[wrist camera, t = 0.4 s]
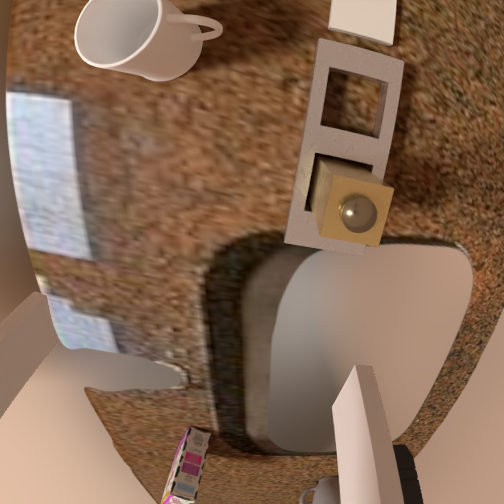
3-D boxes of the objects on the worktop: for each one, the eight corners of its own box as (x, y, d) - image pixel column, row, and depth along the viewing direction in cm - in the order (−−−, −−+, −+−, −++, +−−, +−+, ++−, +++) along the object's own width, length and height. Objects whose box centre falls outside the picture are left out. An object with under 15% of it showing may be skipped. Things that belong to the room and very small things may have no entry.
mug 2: (348, 471, 60) (350, 504, 51) (344, 483, 63) (346, 513, 55) (299, 476, 61) (299, 508, 53) (300, 487, 65) (299, 517, 56)
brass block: (317, 156, 32) (335, 176, 21) (361, 165, 32) (397, 190, 21) (308, 199, 34) (321, 240, 24) (351, 208, 34) (380, 251, 23)
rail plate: (316, 43, 27) (319, 38, 25) (396, 64, 27) (404, 61, 24) (284, 234, 36) (284, 242, 34) (357, 247, 36) (362, 256, 34)
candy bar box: (188, 424, 54) (169, 493, 39) (212, 432, 55) (197, 502, 40) (176, 445, 59) (159, 505, 44) (197, 452, 59) (183, 513, 44)
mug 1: (238, 15, 26) (218, -29, 15) (225, 86, 30) (196, 71, 19) (139, 15, 26) (83, -15, 15) (126, 80, 30) (64, 73, 19)
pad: (334, -21, 23) (335, -24, 22) (394, -4, 23) (396, -7, 22) (327, 29, 26) (329, 27, 25) (389, 46, 26) (392, 44, 25)
